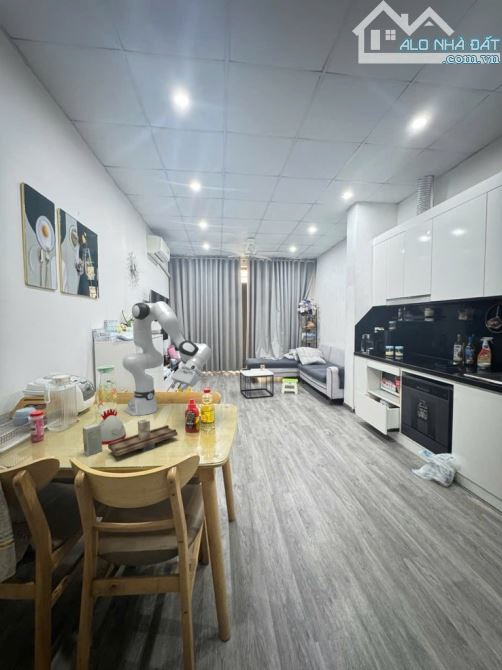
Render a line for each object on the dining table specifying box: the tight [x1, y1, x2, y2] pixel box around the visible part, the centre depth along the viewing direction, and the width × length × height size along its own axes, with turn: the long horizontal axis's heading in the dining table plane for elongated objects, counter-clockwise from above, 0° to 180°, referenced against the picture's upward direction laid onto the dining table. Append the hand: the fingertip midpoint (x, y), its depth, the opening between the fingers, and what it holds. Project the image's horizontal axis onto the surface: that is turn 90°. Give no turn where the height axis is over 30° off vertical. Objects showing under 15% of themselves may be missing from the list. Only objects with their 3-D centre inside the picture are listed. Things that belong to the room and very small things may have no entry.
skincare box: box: [82, 422, 103, 457], centre depth 118 cm, size 6×4×12 cm
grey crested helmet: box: [98, 408, 127, 446], centre depth 132 cm, size 14×14×15 cm
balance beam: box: [107, 424, 178, 457], centre depth 123 cm, size 28×11×5 cm, turn 135°
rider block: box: [137, 418, 151, 440], centre depth 123 cm, size 4×4×8 cm
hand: (175, 389), depth 140 cm, fingers open, 8 cm apart
